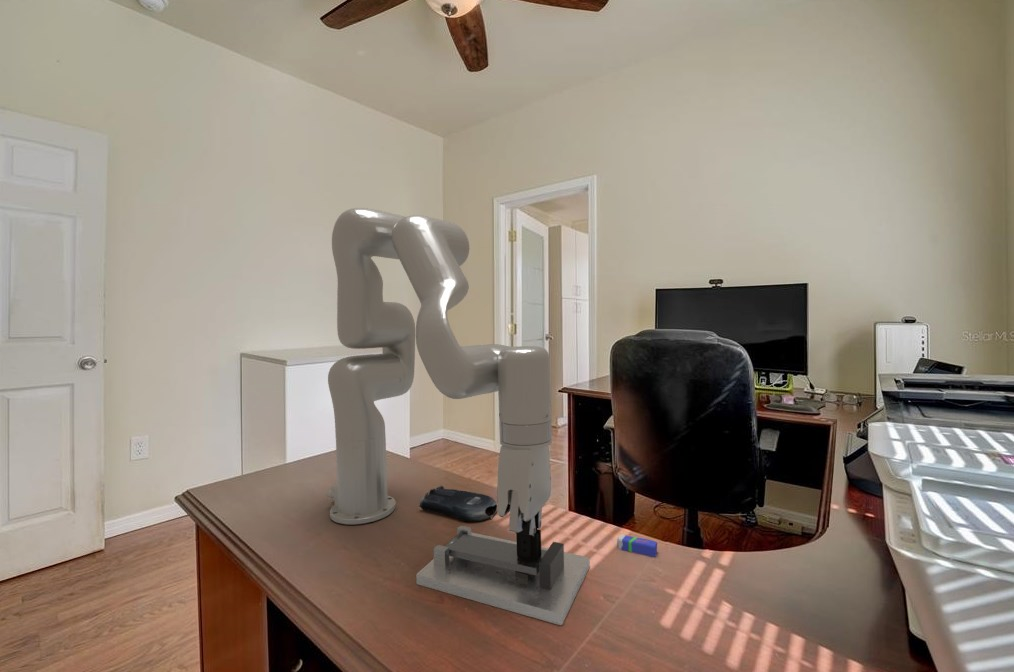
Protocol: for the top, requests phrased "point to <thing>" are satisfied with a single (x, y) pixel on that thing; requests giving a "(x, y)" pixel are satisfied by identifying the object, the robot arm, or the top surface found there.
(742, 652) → the top surface
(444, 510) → the electronic device
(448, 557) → the mounting plate
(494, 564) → the retention lever
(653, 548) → the eraser
